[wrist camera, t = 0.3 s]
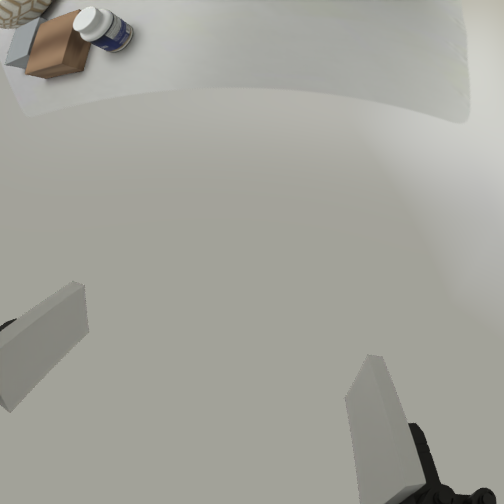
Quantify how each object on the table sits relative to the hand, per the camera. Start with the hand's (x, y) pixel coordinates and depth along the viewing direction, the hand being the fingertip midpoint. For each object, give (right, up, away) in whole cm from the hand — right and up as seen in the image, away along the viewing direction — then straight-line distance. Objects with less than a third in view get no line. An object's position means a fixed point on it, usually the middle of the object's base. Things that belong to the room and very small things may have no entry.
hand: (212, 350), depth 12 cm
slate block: (-39, +44, +20) cm, 62 cm away
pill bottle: (-19, +37, +20) cm, 46 cm away
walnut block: (-30, +39, +21) cm, 53 cm away
